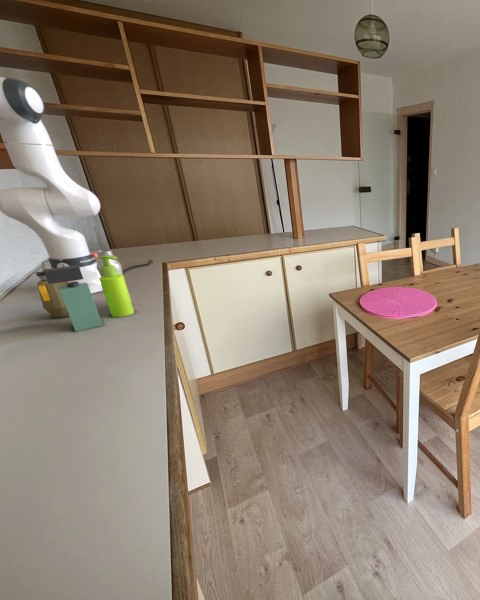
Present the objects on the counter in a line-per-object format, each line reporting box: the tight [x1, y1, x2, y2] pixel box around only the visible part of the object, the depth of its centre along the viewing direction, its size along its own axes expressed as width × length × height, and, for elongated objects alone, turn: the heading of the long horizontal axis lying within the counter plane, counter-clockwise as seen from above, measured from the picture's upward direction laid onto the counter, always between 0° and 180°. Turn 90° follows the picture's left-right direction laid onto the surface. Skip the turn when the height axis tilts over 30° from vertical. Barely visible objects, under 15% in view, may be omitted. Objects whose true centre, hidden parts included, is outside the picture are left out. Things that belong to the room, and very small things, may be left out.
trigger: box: [37, 284, 50, 301], centre depth 88 cm, size 1×3×4 cm, turn 47°
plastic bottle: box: [96, 249, 133, 303], centre depth 108 cm, size 6×7×20 cm
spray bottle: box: [35, 265, 103, 332], centre depth 92 cm, size 9×5×19 cm, turn 137°
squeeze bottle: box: [36, 260, 70, 318], centre depth 100 cm, size 8×8×18 cm
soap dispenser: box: [97, 255, 135, 318], centre depth 102 cm, size 6×7×20 cm
